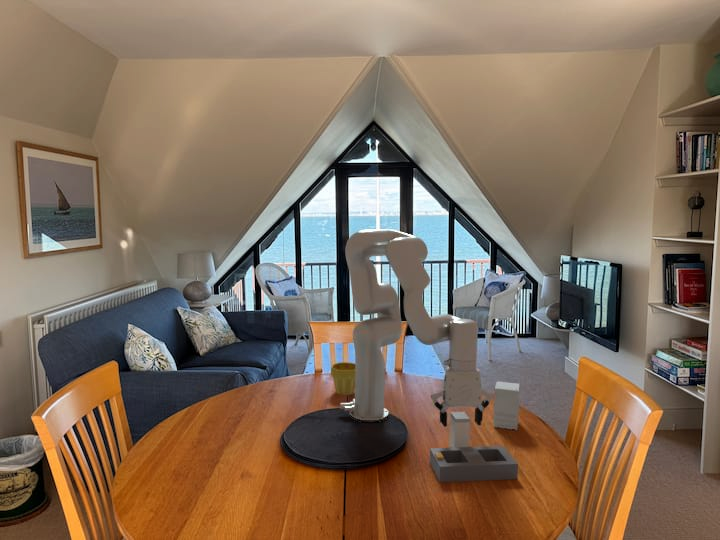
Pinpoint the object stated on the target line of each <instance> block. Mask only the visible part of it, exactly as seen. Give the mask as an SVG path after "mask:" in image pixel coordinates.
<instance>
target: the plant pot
mask: <svg viewBox="0 0 720 540" xmlns="http://www.w3.org/2000/svg"><path fill="white" fill-rule="evenodd" d="M330 375H331V376H332V379H333V385H334V388H335V393H336V394H338V395H340V396H350V395H353V394H355V363H354V362H349V361H348V362H347V361H344V362H343V361H342V362H341V361H340V362H335V363H333V364H331V367H330Z"/></svg>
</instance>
